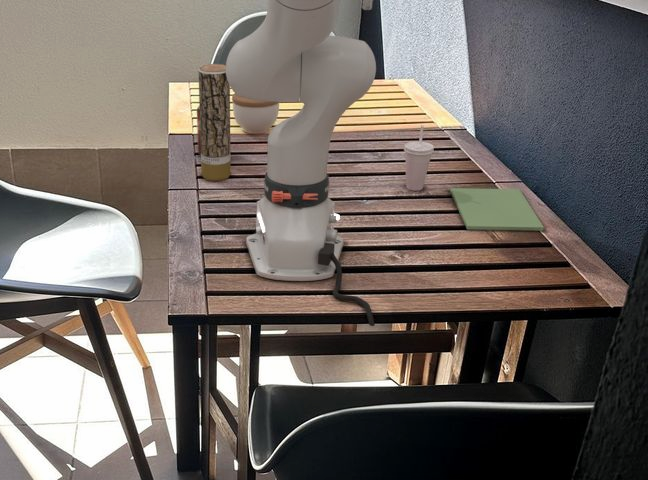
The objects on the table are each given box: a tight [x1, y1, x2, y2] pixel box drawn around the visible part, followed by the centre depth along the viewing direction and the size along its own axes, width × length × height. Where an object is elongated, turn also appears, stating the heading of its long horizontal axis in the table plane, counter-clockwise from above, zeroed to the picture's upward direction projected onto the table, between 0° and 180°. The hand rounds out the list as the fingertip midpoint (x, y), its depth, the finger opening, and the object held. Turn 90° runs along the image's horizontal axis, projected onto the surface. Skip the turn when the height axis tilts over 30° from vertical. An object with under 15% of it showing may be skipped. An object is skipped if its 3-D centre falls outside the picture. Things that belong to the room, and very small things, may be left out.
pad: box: [449, 187, 545, 232], centre depth 170 cm, size 20×15×1 cm
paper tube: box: [198, 63, 232, 182], centre depth 182 cm, size 7×7×25 cm
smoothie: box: [403, 124, 435, 192], centre depth 178 cm, size 6×6×14 cm
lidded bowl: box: [231, 93, 280, 135], centre depth 215 cm, size 13×13×11 cm
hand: (345, 10), depth 168 cm, fingers open, 8 cm apart
